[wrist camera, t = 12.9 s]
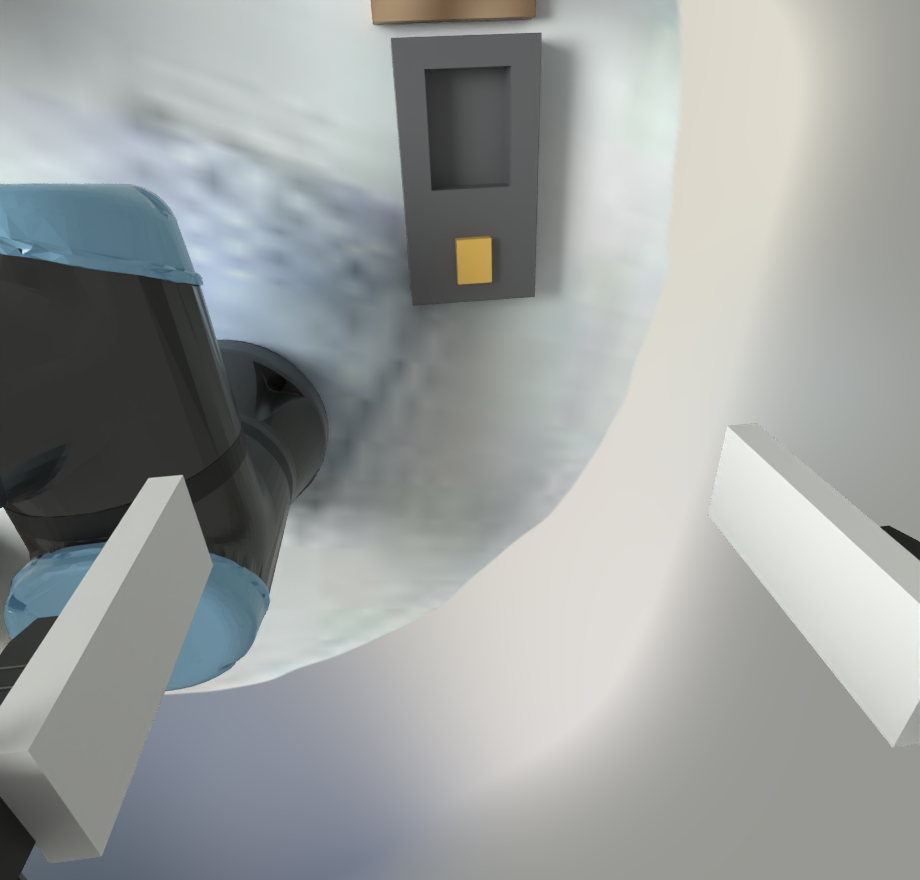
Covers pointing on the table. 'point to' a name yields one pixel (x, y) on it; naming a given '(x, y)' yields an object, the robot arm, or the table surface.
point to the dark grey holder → (469, 163)
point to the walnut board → (450, 10)
